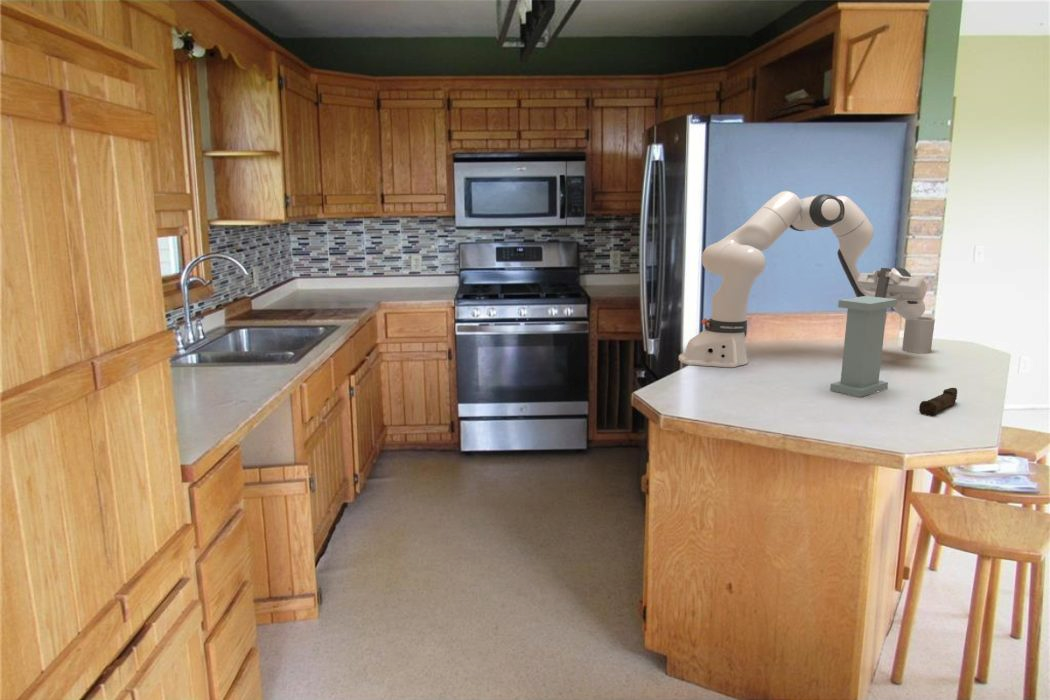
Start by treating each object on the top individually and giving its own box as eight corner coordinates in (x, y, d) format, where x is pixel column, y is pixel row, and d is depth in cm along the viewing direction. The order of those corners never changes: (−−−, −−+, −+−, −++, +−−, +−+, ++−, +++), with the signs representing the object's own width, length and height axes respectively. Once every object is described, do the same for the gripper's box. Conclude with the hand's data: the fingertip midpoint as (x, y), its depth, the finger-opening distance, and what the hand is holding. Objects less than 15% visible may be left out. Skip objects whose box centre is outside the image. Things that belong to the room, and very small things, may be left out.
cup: (904, 352, 259) (908, 319, 256) (899, 347, 267) (903, 315, 265) (933, 354, 256) (937, 320, 253) (927, 349, 264) (931, 316, 262)
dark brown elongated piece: (934, 418, 183) (936, 400, 182) (917, 414, 186) (920, 396, 185) (965, 405, 194) (968, 388, 194) (949, 402, 198) (951, 385, 197)
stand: (860, 397, 200) (870, 303, 195) (830, 390, 207) (838, 300, 202) (887, 389, 209) (897, 299, 204) (857, 382, 216) (866, 295, 211)
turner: (880, 344, 231) (878, 344, 230) (862, 341, 235) (859, 341, 234) (897, 269, 229) (894, 268, 228) (878, 268, 234) (875, 267, 233)
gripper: (870, 280, 247) (853, 261, 238) (933, 286, 231) (918, 266, 222) (863, 297, 246) (847, 279, 237) (926, 304, 230) (911, 285, 222)
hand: (881, 273), depth 230 cm, fingers closed on turner, 3 cm apart
